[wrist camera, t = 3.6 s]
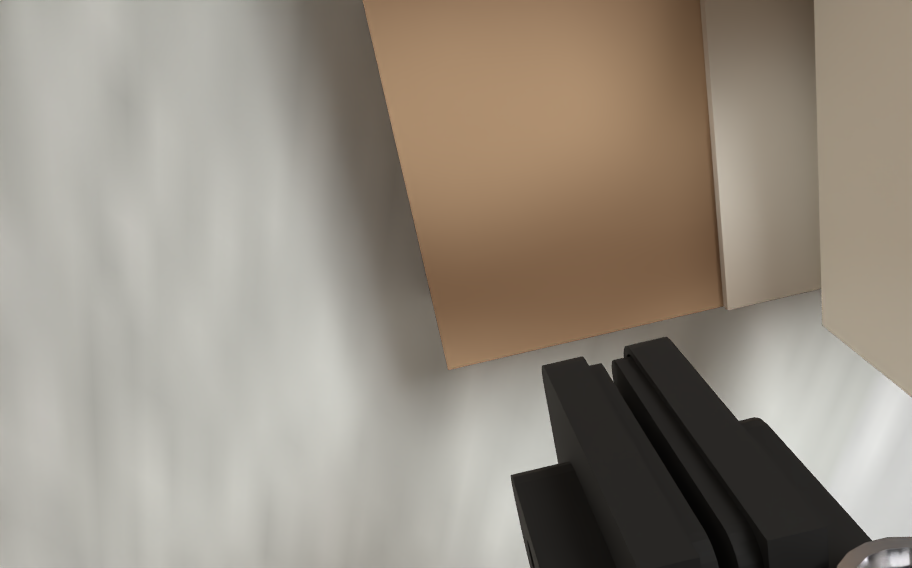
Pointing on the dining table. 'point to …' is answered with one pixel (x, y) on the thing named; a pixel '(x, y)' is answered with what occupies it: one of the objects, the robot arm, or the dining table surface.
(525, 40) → the board
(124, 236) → the dining table surface
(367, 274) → the dining table surface
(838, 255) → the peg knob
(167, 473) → the dining table surface
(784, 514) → the robot arm
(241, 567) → the dining table surface
